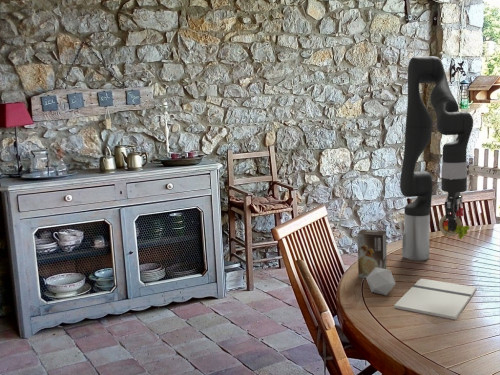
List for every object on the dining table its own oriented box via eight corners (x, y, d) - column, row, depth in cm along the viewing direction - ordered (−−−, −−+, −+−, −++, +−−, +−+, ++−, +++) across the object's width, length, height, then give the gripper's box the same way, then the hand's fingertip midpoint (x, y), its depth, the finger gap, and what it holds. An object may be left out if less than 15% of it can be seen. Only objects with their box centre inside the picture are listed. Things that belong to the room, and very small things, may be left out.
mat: (394, 307, 167) (394, 304, 167) (420, 280, 188) (420, 278, 188) (455, 319, 157) (455, 316, 157) (476, 289, 178) (476, 286, 178)
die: (399, 292, 180) (388, 265, 184) (397, 288, 173) (386, 260, 176) (375, 301, 182) (365, 273, 186) (372, 297, 174) (361, 269, 178)
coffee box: (387, 274, 196) (387, 230, 193) (383, 280, 190) (383, 235, 187) (361, 271, 200) (361, 228, 197) (357, 277, 194) (357, 233, 191)
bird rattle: (444, 245, 176) (472, 236, 171) (430, 214, 176) (457, 204, 172) (447, 240, 181) (474, 232, 177) (433, 210, 182) (460, 200, 177)
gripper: (447, 172, 182) (446, 223, 185) (436, 178, 170) (435, 233, 173) (471, 173, 178) (470, 225, 181) (461, 179, 166) (460, 235, 169)
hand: (453, 229), depth 177 cm, fingers closed on bird rattle, 3 cm apart
